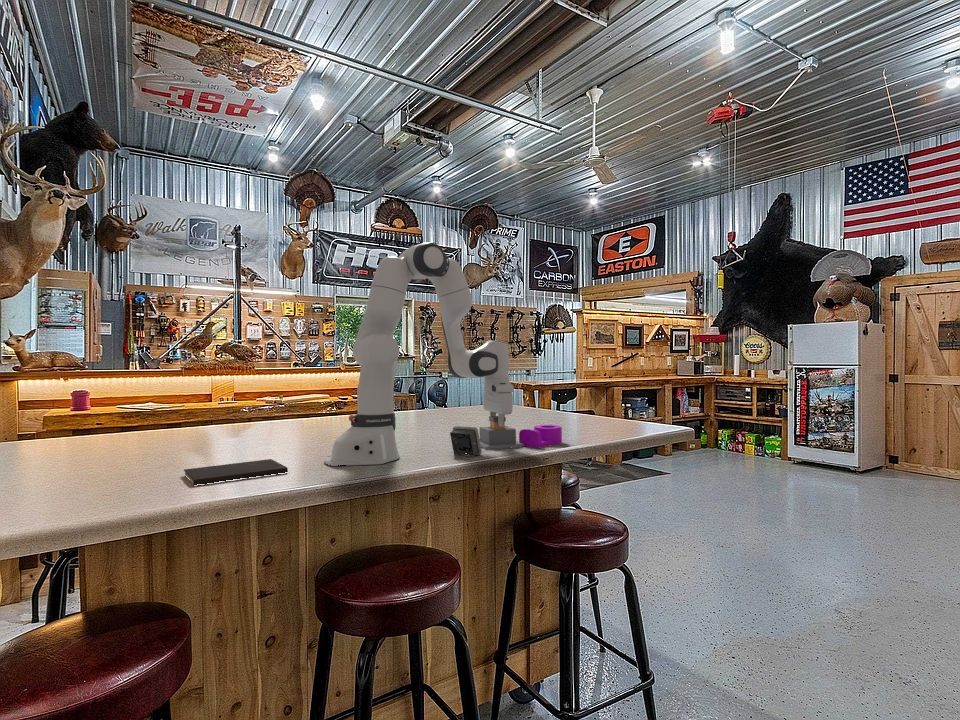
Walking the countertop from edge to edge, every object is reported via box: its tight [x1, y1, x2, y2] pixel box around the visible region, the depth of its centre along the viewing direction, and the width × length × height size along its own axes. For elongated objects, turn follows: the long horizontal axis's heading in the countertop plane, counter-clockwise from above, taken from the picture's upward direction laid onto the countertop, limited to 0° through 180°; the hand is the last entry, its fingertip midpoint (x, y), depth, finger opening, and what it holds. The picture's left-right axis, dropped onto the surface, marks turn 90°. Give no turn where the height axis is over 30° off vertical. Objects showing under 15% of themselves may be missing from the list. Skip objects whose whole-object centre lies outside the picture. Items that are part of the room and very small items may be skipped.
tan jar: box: [488, 415, 507, 429], centre depth 188 cm, size 5×5×9 cm
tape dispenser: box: [518, 424, 563, 449], centre depth 189 cm, size 16×10×6 cm, turn 135°
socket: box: [479, 425, 525, 450], centre depth 188 cm, size 14×14×6 cm
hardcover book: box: [183, 458, 289, 486], centre depth 145 cm, size 16×23×2 cm
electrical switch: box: [449, 425, 483, 457], centre depth 170 cm, size 9×5×9 cm, turn 57°
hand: (497, 425), depth 188 cm, fingers open, 5 cm apart
